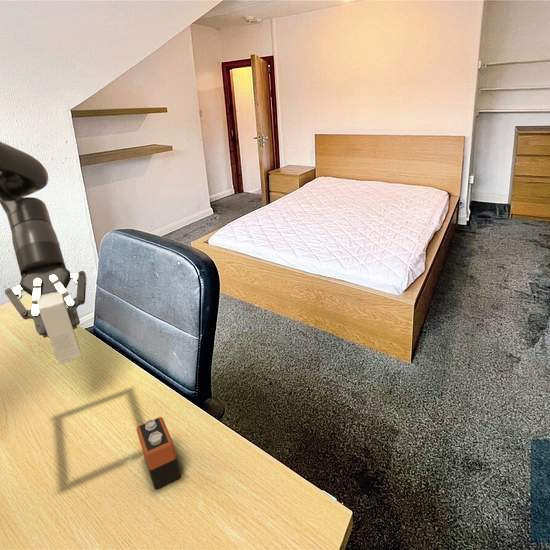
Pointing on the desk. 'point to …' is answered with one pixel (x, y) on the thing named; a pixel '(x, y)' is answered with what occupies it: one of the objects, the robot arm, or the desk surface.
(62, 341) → the cosmetic box
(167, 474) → the battery
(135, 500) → the desk surface
